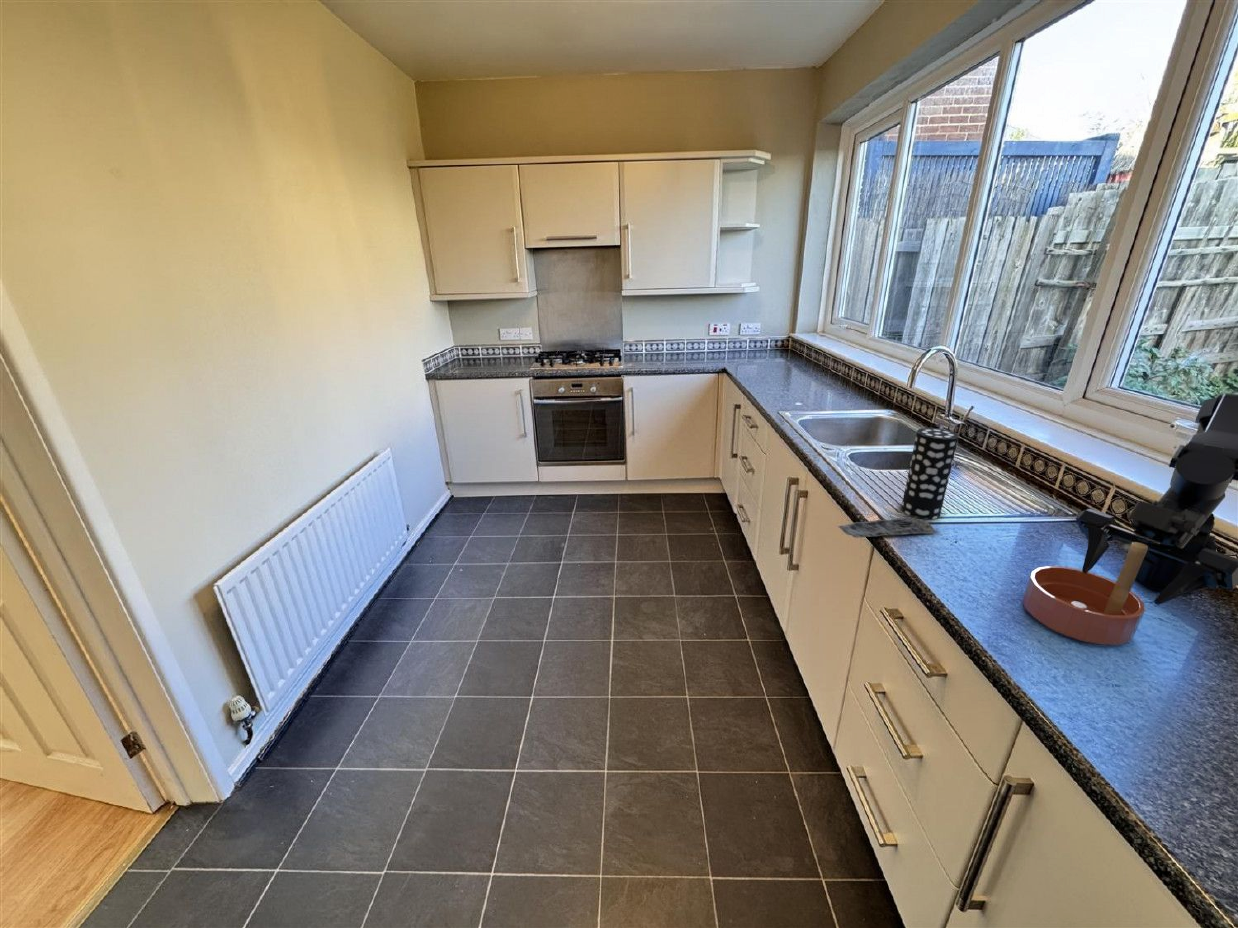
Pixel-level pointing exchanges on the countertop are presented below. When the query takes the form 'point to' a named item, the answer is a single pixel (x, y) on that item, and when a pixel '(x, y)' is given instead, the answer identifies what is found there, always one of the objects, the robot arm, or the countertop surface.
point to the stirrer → (1123, 580)
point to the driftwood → (887, 527)
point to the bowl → (1076, 621)
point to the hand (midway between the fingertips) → (1118, 586)
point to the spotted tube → (929, 472)
